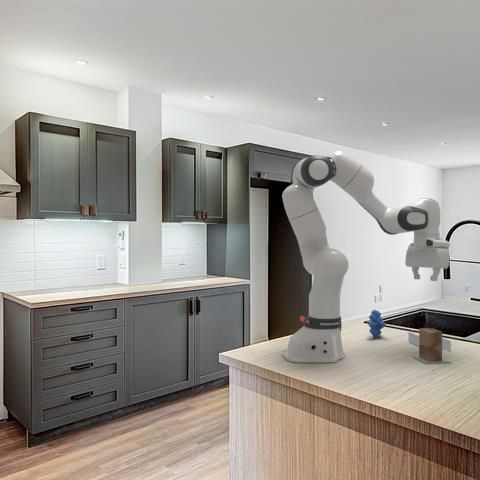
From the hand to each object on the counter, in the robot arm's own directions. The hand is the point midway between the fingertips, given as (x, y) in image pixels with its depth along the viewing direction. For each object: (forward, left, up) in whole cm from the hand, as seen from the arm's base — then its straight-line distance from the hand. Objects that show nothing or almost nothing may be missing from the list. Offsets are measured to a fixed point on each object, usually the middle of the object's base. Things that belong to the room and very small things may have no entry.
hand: (425, 280), depth 160 cm
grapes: (-7, +23, -27) cm, 36 cm away
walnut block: (-4, -9, -26) cm, 28 cm away
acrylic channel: (+6, +7, -27) cm, 28 cm away
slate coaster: (-4, -9, -27) cm, 28 cm away
